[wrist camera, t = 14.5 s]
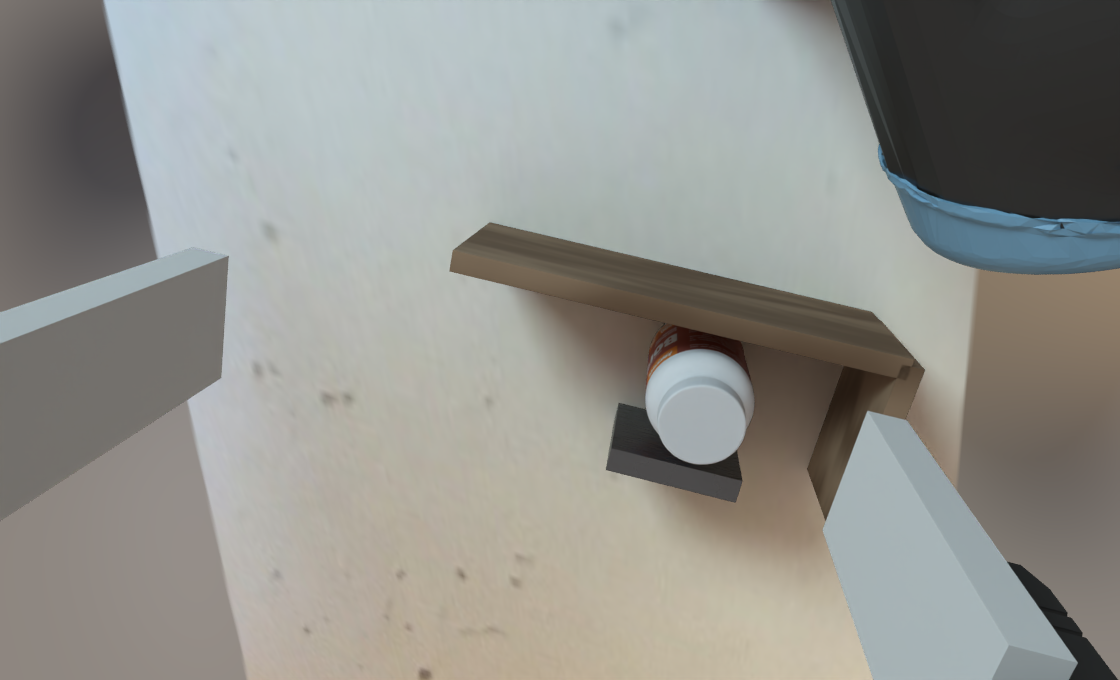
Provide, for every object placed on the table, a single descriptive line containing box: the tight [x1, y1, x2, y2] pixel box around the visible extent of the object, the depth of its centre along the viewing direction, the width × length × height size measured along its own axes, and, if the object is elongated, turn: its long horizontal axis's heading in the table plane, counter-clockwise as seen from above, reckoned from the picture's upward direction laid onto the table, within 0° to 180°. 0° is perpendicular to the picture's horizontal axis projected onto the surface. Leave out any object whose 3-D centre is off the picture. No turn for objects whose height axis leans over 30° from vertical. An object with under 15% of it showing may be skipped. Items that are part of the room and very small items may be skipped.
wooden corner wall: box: [450, 223, 925, 521], centre depth 47 cm, size 12×26×9 cm, turn 78°
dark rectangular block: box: [606, 403, 742, 502], centre depth 49 cm, size 2×8×7 cm, turn 78°
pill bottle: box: [645, 323, 755, 464], centre depth 46 cm, size 6×6×11 cm
